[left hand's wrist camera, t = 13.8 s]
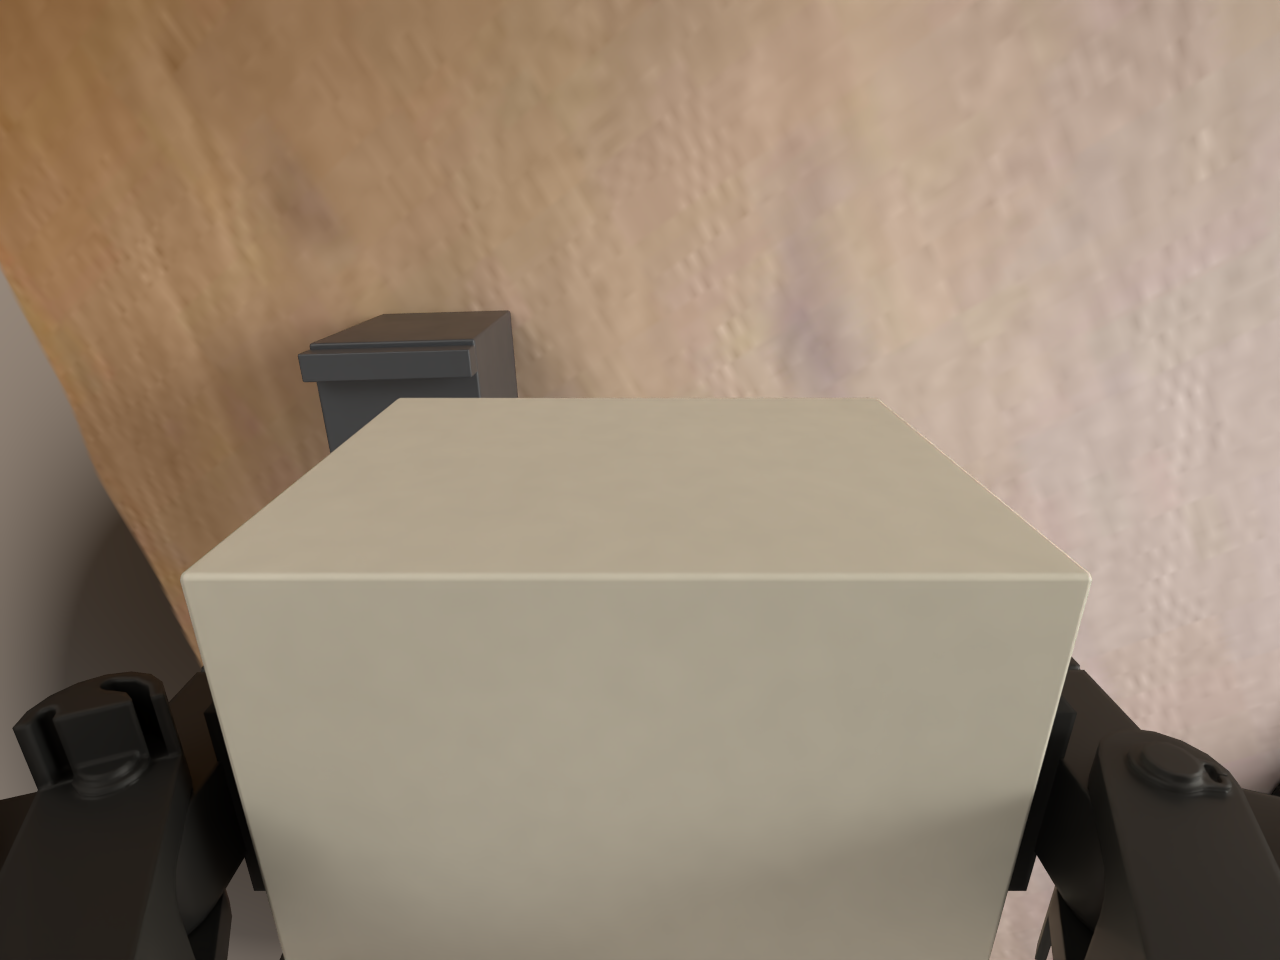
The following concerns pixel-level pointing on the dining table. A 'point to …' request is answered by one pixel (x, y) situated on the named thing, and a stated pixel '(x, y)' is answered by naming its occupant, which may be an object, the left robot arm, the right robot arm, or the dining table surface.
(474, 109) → the dining table surface
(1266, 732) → the dining table surface
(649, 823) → the cap block
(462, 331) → the grey long block
